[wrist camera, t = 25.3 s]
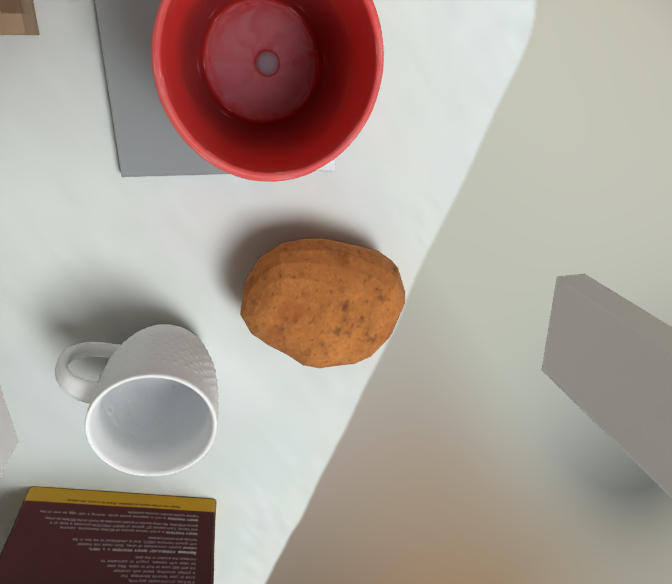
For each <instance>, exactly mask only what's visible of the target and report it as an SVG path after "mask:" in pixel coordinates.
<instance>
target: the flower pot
mask: <svg viewBox="0 0 672 584" xmlns="http://www.w3.org/2000/svg"><path fill="white" fill-rule="evenodd" d="M383 61H384V51H383V38H382V32H381V26H380V22H379V18H378V15H377V11H376V8H375V5H374V3H373V0H161V2H160V4H159V7H158V10H157V14H156V17H155V22H154V27H153V32H152V43H151V63H152V71H153V77H154V82H155V86H156V90H157V93H158V96H159V99H160V102H161V104H162V106H163V109H164V111H165V113H166V115H167V117H168V119H169V120H170V122H171V124H172V125H173V127H174V128H175V130H176V131H177V132H178V134H179V135H180V136H181V138H182V139H183V140H184V141H185V142H186V144H187V145H188V146H189V147H191V148H192V149H193V150H194V151H195V152H196V153H197V154H198V155H199V156H200V157H202V158H203V159H204V160H206V161H207V162H209V163H210V164H212V165H213V166H215V167H217V168H219V169H221V170H223V171H225V172H227V173H230V174H232V175H235V176H238V177H241V178H245V179H249V180H255V181H284V180H290V179H294V178H298V177H301V176H304V175H307V174H309V173H312V172H314V171H316V170H318V169H320V168H321V167H323V166H325V165H326V164H328V163H329V162H331V161H332V160H334V159H335V158H336V157H337V156H339V155H340V154H341V153H342V152H343V151H344V150H345V149H346V148H347V147H348V146H349V145H350V144H351V143H352V142H353V140H354V139H355V138H356V137H357V135H358V134H359V133H360V131H361V130H362V128H363V127H364V125H365V123H366V122H367V120H368V118H369V116H370V114H371V112H372V110H373V107H374V105H375V102H376V99H377V95H378V92H379V88H380V84H381V79H382V73H383Z"/></svg>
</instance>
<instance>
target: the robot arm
mask: <svg viewBox="0 0 672 584" xmlns="http://www.w3.org/2000/svg"><path fill="white" fill-rule="evenodd" d="M542 371H543V372H544V373H545V374H546V375H547V376H548V377H549V378H550V379H551V380H552V381H553V382H554V383H555V384H556V385H557V386H558V387H559V388H561V390H562V391H563V392H564V393H565V394H566V395H567V396H568V397H570V399H571V400H573V402H574V403H576V404H577V405H578V406H579V407H580V408H581V409H582V410H583V411H584V412H585V413H586V414H587V415H588V416H589V417H590V418H591V419H592V420H593V421H594V422H595V423H596V424H597V425H598V426H599V427H600V428H601V429H602V430H603V431H604V432H605V433H606V434H607V435H608V436H609V437H610V438H611V439H612V440H613V441H614V442H615V443H616V444H617V445H618V446H619V447H620V448H621V449H622V450H623V451H624V452H625V453H626V454H627V455H628V456H629V457H630V458H631V459H633V461H634V462H636V463H637V465H639V466H640V467H641V468H642V469H643V470H644V471H645V472H646V473H647V474H648V475H649V476H650V477H651V478H652V479H653V480H654V481H655V482H656V483H657V484H658V485H659V486H660V487H661V488H662V489H663V490H664V491H665V492H666V493H667V494H668V495H669V496H670V497H671V498H672V327H671V326H669V325H668V324H666V323H664V322H663V321H661V320H659V319H658V318H656V317H654V316H653V315H651V314H650V313H648V312H646V311H645V310H643V309H641V308H640V307H638V306H637V305H635V304H633V303H632V302H630V301H628V300H627V299H625V298H623V297H622V296H620V295H618V294H617V293H615V292H613V291H612V290H610V289H609V288H607V287H605V286H604V285H602V284H600V283H599V282H597V281H596V280H594V279H592V278H590V277H589V276H587V275H586V274H577V275H567V276H558V277H557V279H556V285H555V292H554V297H553V303H552V310H551V316H550V322H549V328H548V334H547V340H546V346H545V353H544V358H543V365H542ZM17 443H18V439H17V436H16V433H15V430H14V427H13V424H12V421H11V418H10V414H9V411H8V408H7V405H6V402H5V399H4V396H3V393H2V390H1V387H0V478H1V476H2V474H3V472H4V470H5V468H6V466H7V464H8V462H9V460H10V458H11V456H12V453H13V451H14V449H15V447H16V445H17Z"/></svg>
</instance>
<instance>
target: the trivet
mask: <svg viewBox="0 0 672 584" xmlns="http://www.w3.org/2000/svg"><path fill="white" fill-rule="evenodd" d="M160 2H161V0H95V6H96V12H97V19H98V25H99V32H100V39H101V45H102V52H103V58H104V65H105V71H106V78H107V84H108V91H109V97H110V104H111V110H112V117H113V123H114V130H115V137H116V143H117V150H118V156H119V163H120V169H121V176H122V177H139V176H173V175H208V174H230V173H227V172H225V171H223V170H221V169H219V168H217V167H215V166H213V165H212V164H210V163H209V162H207V161H206V160H204V159H203V158H202V157H200V156H199V155H198V154H197V153H196V152H195V151H194V150H193V149H192V148H191V147H189V146H188V145H187V144H186V142H185V141H184V140H183V139H182V138H181V136H180V135H179V134H178V132H177V131H176V130H175V128H174V127H173V125H172V124H171V122H170V120H169V119H168V117H167V115H166V113H165V111H164V109H163V106H162V104H161V102H160V99H159V96H158V93H157V90H156V86H155V82H154V77H153V71H152V63H151V43H152V32H153V27H154V22H155V17H156V14H157V10H158V7H159V4H160ZM316 171H335V159H334V160H332V161H331V162H329V163H328V164H326V165H325V166H323V167H321V168H320V169H318V170H316Z"/></svg>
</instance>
